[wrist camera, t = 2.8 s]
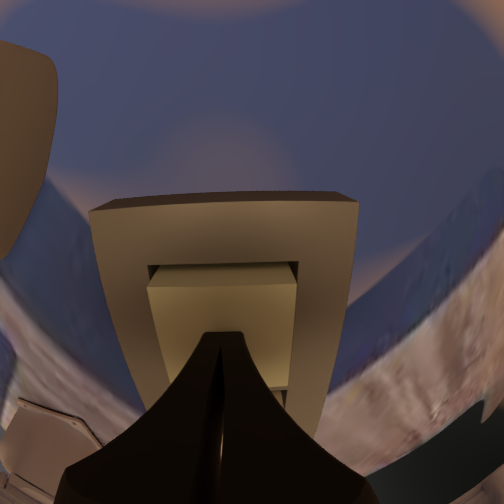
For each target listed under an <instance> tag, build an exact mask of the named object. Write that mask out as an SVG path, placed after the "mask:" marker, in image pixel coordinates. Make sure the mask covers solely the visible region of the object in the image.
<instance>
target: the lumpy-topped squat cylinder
mask: <svg viewBox="0 0 504 504" xmlns="http://www.w3.org/2000/svg"><path fill="white" fill-rule="evenodd" d="M57 109H58V76H57V71H56V67H55V65H54V63H53V61H52V60H51V59H50V58H49V57H48V56H46V55H44V54H41V53H39V52H36V51H33V50H30V49H27V48H25V47H22V46H18V45H15V44H12V43H9V42H6V41H2V40H0V260H1V259H2V258H4V257H5V256H6V255H7V254H8V253H9V252H10V250H11V249H12V247H13V245H14V243H15V241H16V239H17V237H18V236H19V234H20V232H21V230H22V228H23V226H24V224H25V222H26V220H27V218H28V216H29V213H30V211H31V209H32V207H33V205H34V202H35V200H36V198H37V196H38V193H39V191H40V188H41V186H42V183H43V180H44V177H45V175H46V171H47V167H48V162H49V156H50V151H51V146H52V141H53V135H54V130H55V124H56V118H57Z"/></svg>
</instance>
